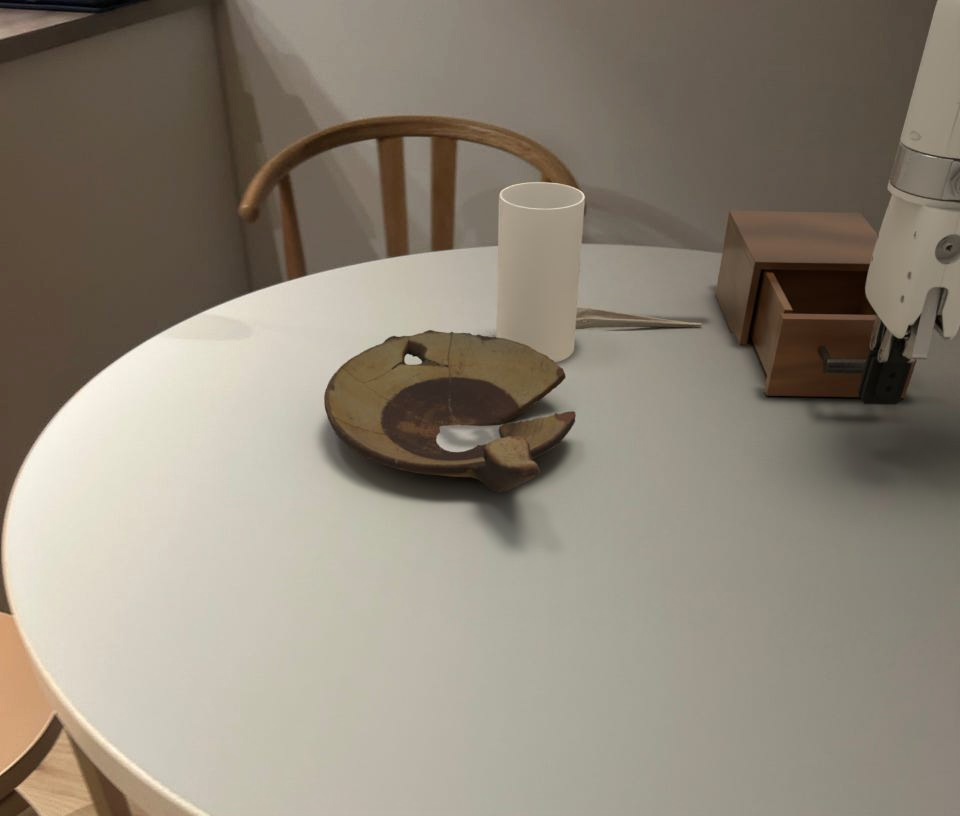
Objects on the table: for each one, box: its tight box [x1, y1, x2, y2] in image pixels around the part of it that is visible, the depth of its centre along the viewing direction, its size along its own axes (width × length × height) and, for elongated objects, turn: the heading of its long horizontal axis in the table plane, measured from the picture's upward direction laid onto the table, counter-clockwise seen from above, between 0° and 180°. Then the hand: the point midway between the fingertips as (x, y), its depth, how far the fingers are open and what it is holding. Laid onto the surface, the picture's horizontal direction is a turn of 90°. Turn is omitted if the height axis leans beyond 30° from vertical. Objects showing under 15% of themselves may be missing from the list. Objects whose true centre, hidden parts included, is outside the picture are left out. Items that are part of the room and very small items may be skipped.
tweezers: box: [575, 306, 703, 330], centre depth 110 cm, size 17×5×2 cm, turn 91°
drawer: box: [749, 269, 918, 399], centre depth 97 cm, size 19×13×8 cm
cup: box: [495, 181, 586, 363], centre depth 100 cm, size 8×8×16 cm
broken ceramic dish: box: [323, 329, 577, 493], centre depth 87 cm, size 22×30×8 cm
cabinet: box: [715, 210, 879, 347], centre depth 108 cm, size 16×15×10 cm
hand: (877, 399), depth 85 cm, fingers closed
